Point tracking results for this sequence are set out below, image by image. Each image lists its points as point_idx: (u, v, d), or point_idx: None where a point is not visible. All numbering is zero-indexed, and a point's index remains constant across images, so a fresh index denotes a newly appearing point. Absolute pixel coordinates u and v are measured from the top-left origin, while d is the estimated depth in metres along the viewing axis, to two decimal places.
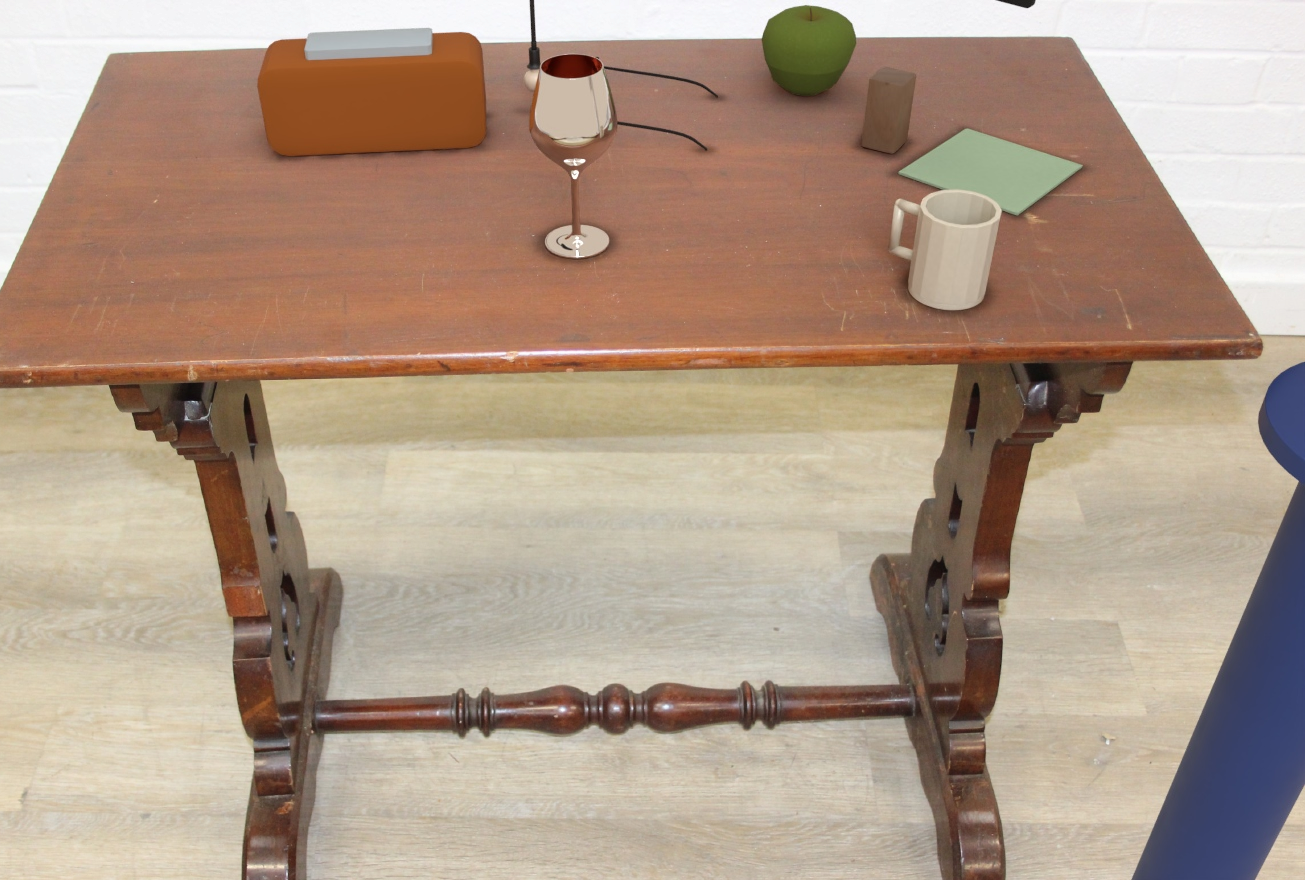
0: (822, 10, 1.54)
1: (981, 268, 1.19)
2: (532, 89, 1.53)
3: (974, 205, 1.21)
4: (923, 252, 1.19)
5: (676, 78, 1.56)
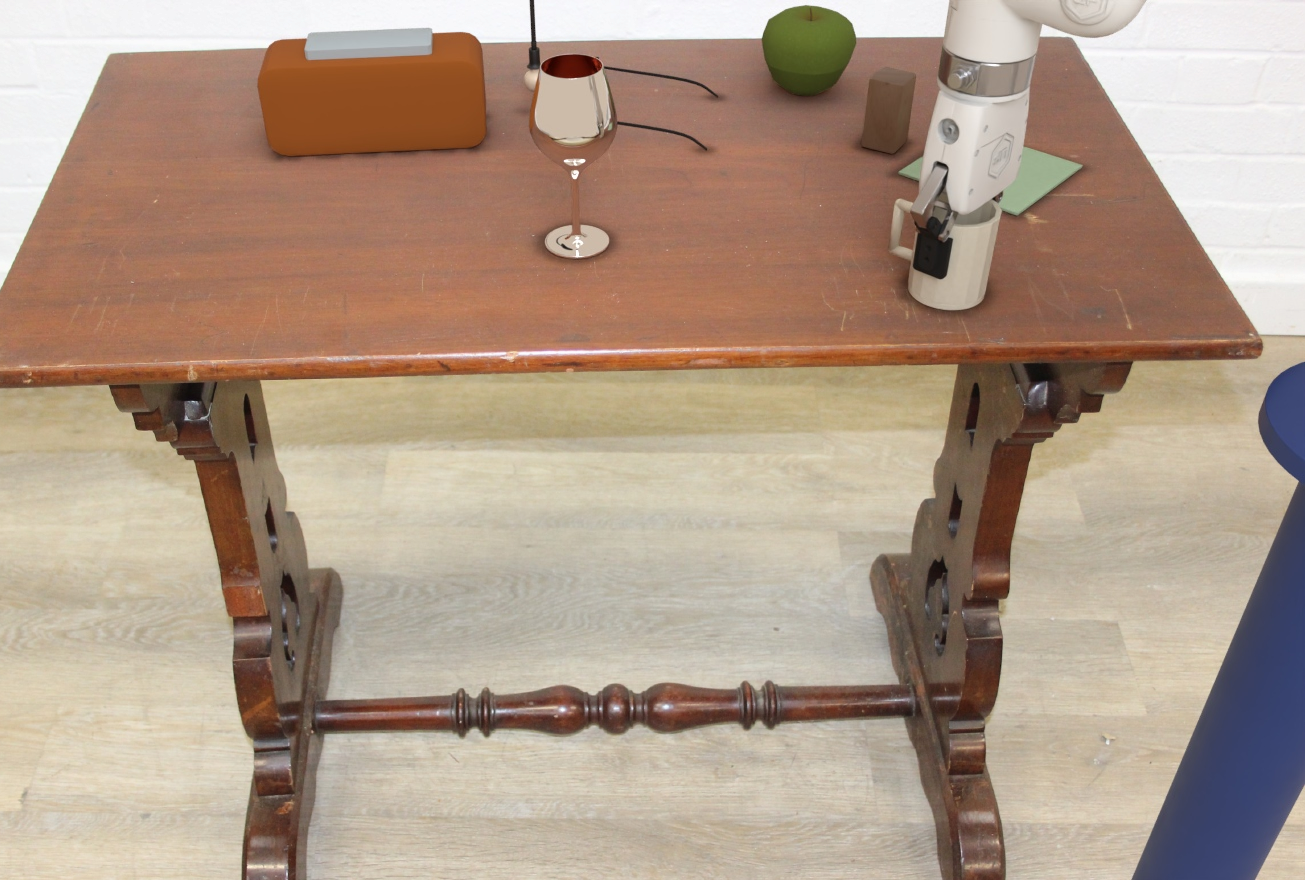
0: (822, 10, 1.54)
1: (981, 268, 1.19)
2: (532, 89, 1.53)
3: None
4: None
5: (676, 78, 1.56)
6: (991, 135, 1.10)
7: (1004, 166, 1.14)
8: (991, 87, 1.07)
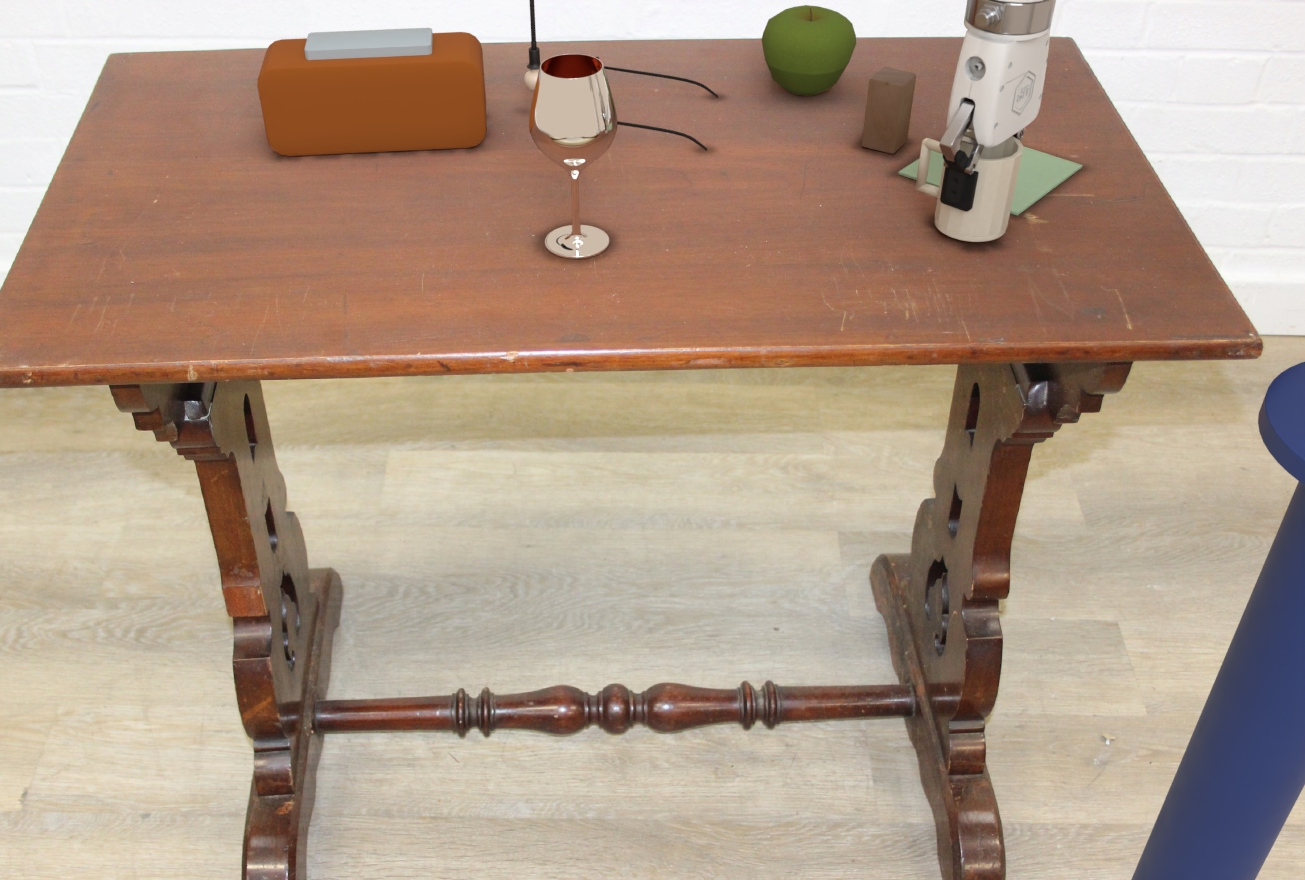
0: (822, 10, 1.54)
1: (1004, 201, 1.27)
2: (532, 89, 1.53)
3: None
4: None
5: (676, 78, 1.56)
6: (1015, 72, 1.18)
7: (1026, 103, 1.22)
8: (1015, 26, 1.15)
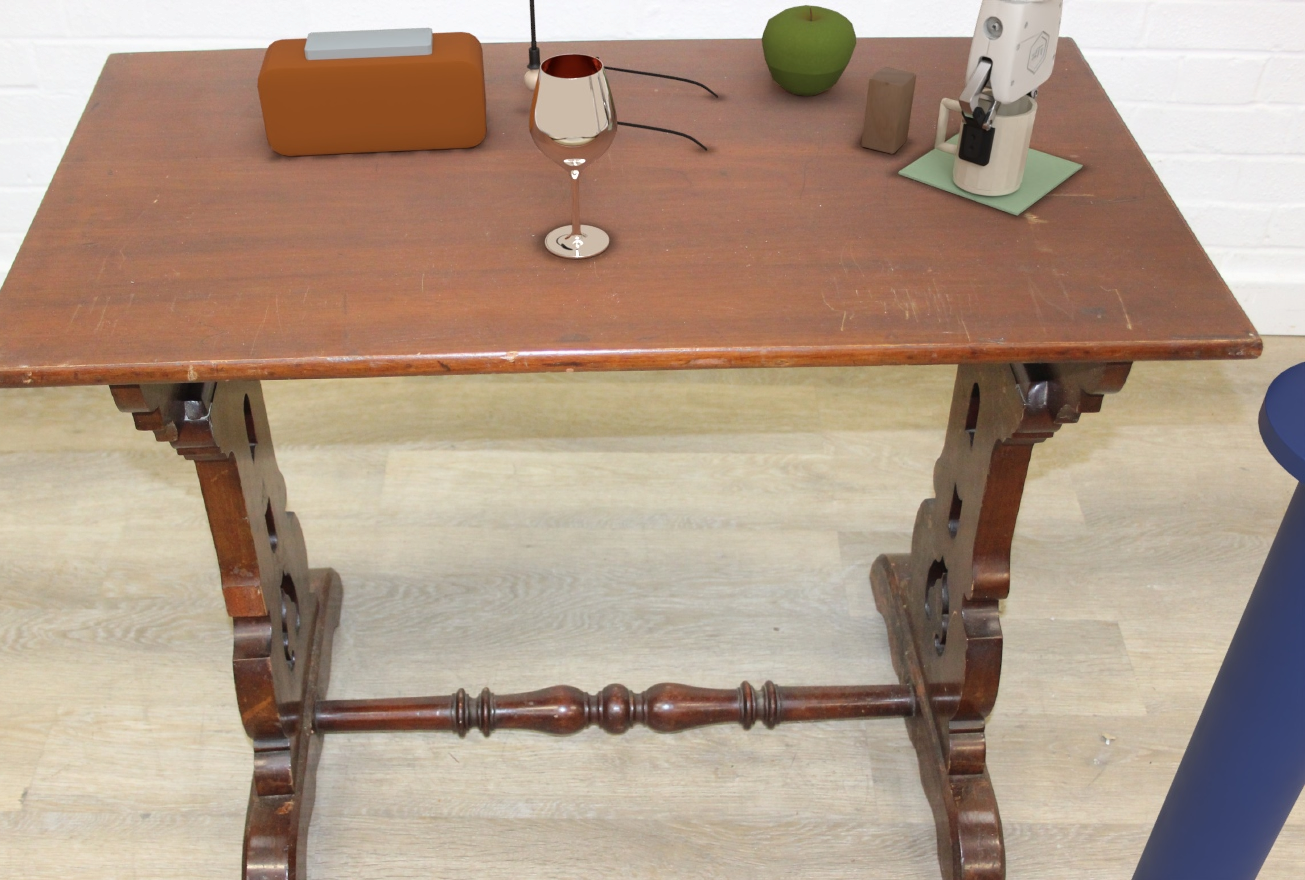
0: (822, 10, 1.54)
1: (1019, 156, 1.34)
2: (532, 89, 1.53)
3: None
4: None
5: (676, 78, 1.56)
6: (1030, 31, 1.25)
7: (1040, 62, 1.29)
8: None
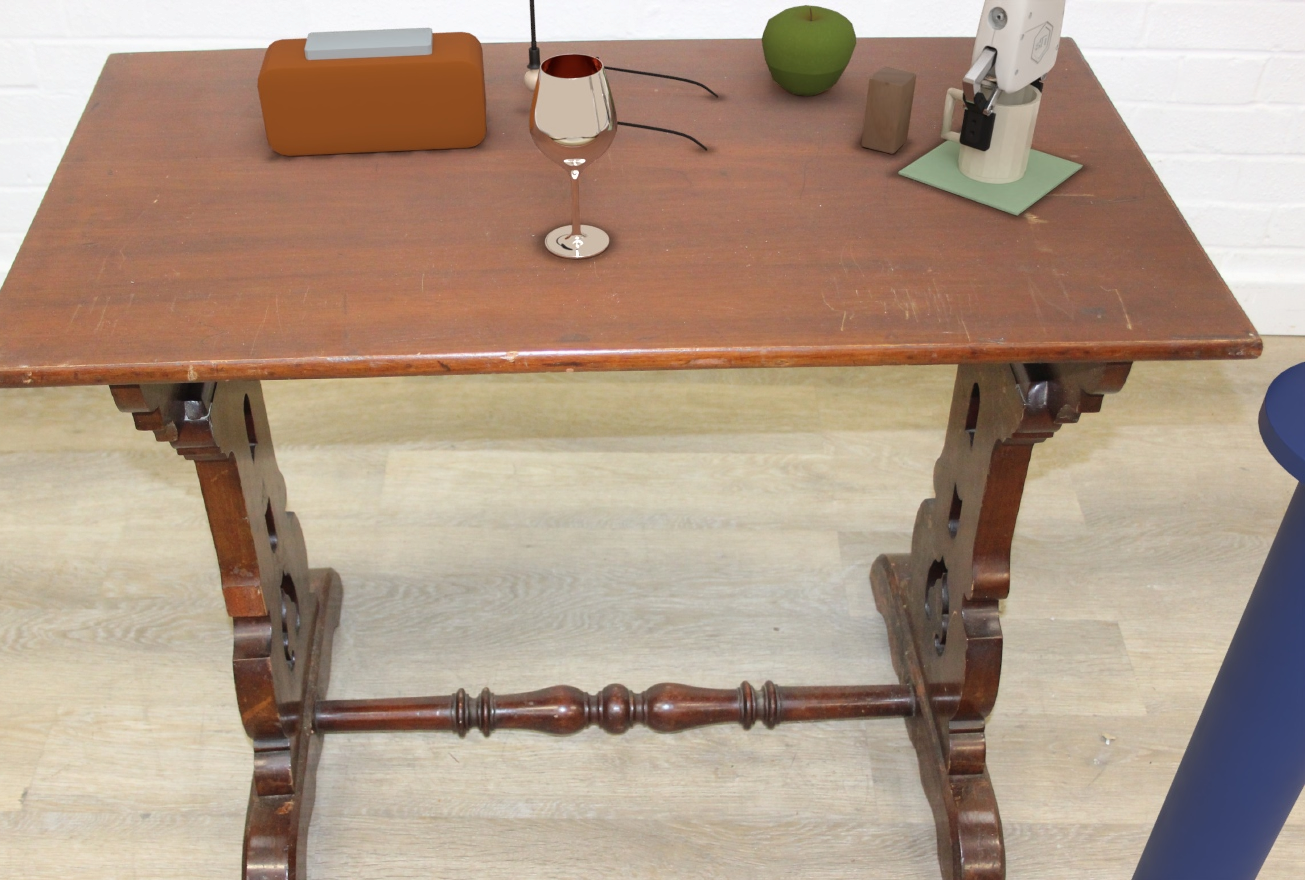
0: (822, 10, 1.54)
1: (1023, 145, 1.37)
2: (532, 89, 1.53)
3: (1017, 92, 1.38)
4: None
5: (676, 78, 1.56)
6: (1034, 22, 1.28)
7: (1044, 52, 1.32)
8: None
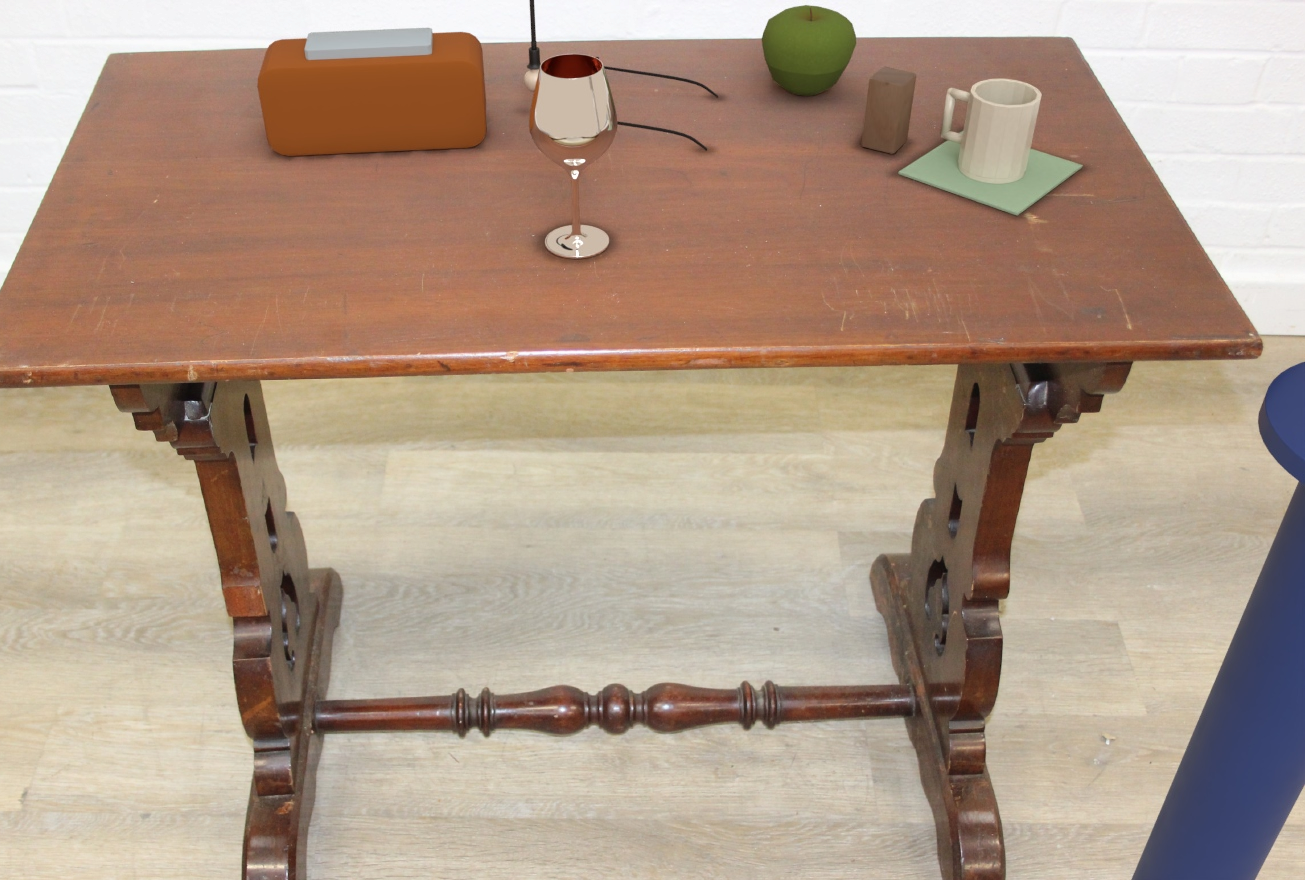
0: (822, 10, 1.54)
1: (1023, 145, 1.37)
2: (532, 89, 1.53)
3: (1017, 92, 1.38)
4: (973, 132, 1.37)
5: (676, 78, 1.56)
6: None
7: None
8: None
